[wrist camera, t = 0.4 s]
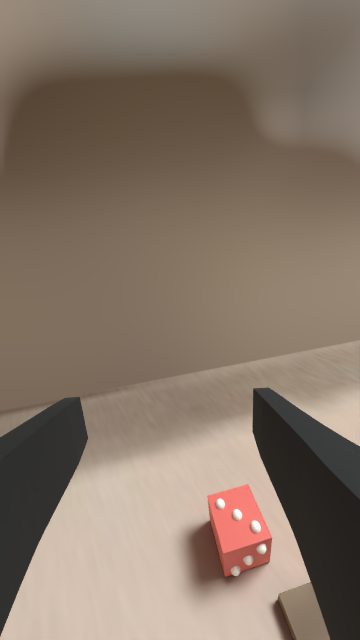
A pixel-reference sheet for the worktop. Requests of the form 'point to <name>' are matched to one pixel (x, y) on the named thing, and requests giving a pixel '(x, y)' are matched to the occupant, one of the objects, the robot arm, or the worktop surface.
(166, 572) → the worktop surface
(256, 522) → the red die
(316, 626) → the game board
